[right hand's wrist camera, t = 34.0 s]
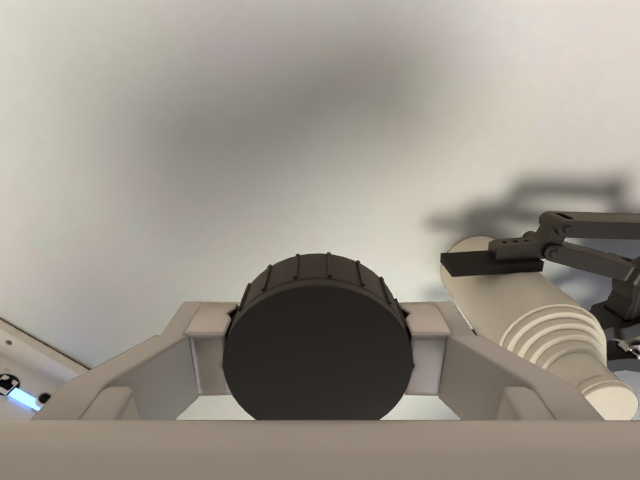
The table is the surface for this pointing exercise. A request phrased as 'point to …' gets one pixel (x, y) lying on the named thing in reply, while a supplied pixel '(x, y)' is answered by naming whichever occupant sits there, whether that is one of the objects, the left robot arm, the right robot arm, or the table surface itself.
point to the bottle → (542, 330)
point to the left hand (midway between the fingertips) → (444, 306)
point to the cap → (318, 343)
